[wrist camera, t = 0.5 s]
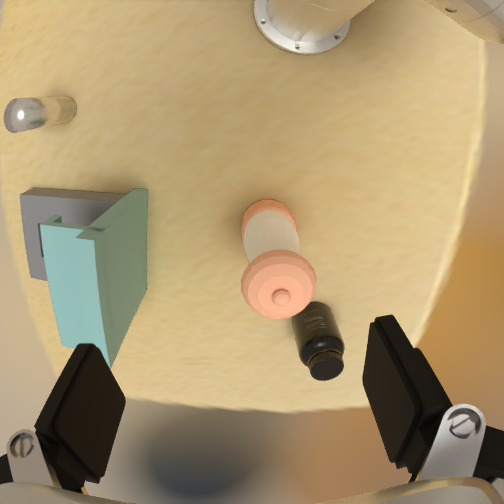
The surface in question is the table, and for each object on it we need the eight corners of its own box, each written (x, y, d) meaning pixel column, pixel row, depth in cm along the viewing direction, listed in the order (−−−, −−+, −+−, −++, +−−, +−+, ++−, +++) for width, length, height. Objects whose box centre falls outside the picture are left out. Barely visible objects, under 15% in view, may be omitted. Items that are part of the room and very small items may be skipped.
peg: (55, 97, 36) (4, 100, 25) (77, 95, 36) (28, 96, 25) (53, 123, 37) (3, 133, 26) (75, 123, 38) (26, 132, 27)
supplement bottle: (286, 330, 53) (295, 383, 42) (299, 297, 50) (312, 348, 39) (323, 336, 54) (339, 387, 43) (338, 304, 51) (359, 354, 40)
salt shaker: (288, 251, 47) (312, 337, 29) (238, 244, 46) (234, 330, 29) (298, 203, 44) (333, 269, 26) (245, 195, 43) (245, 258, 26)
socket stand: (33, 181, 41) (-44, 221, 24) (148, 189, 42) (94, 240, 26) (43, 271, 47) (-14, 332, 31) (146, 289, 49) (110, 369, 32)
